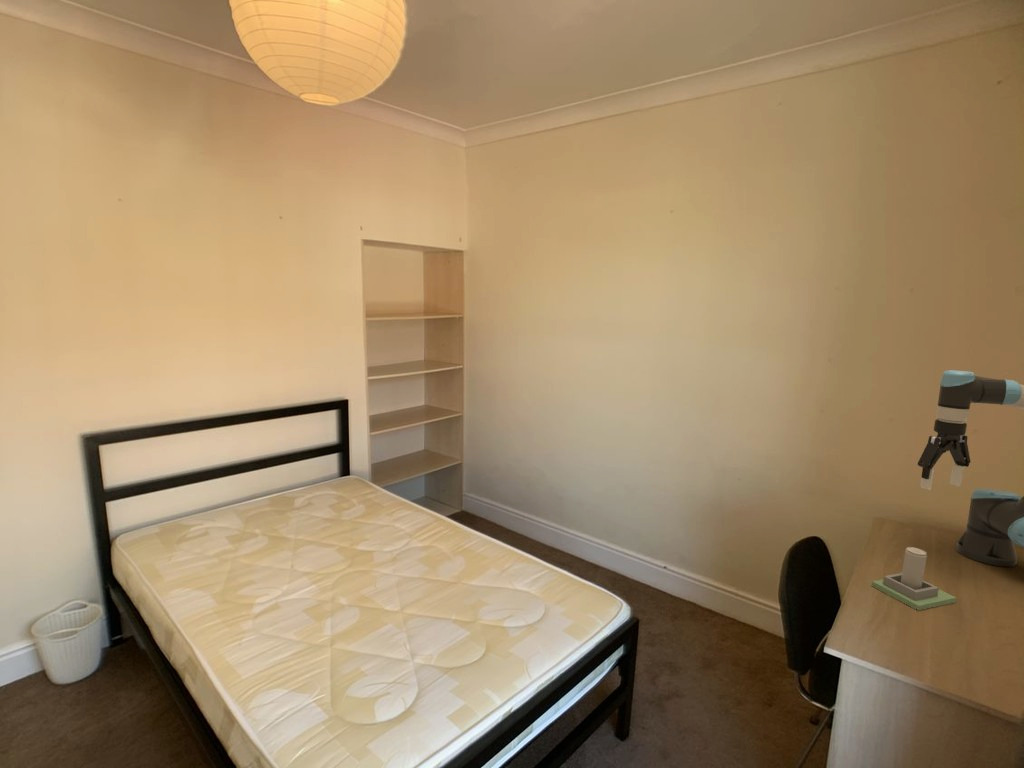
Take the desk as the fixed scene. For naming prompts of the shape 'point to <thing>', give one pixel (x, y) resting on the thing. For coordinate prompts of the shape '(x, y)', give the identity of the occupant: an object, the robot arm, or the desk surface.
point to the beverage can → (913, 568)
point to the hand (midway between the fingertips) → (940, 487)
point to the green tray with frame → (913, 593)
